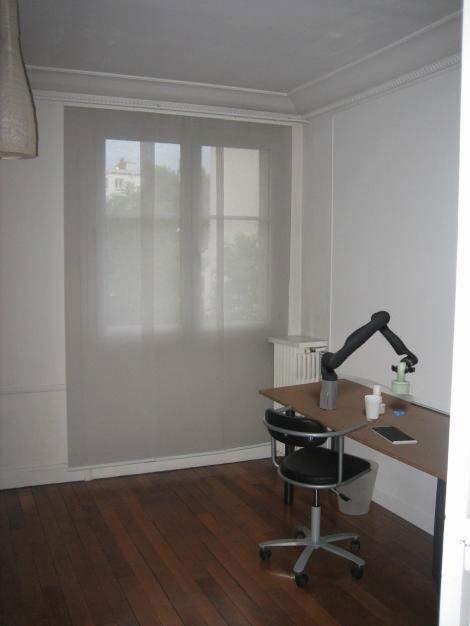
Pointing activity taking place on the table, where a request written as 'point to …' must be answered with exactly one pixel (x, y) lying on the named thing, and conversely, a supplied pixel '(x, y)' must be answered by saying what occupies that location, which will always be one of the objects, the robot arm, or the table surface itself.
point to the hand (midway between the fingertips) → (400, 371)
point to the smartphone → (393, 435)
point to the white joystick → (378, 392)
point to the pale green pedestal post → (400, 381)
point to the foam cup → (372, 406)
